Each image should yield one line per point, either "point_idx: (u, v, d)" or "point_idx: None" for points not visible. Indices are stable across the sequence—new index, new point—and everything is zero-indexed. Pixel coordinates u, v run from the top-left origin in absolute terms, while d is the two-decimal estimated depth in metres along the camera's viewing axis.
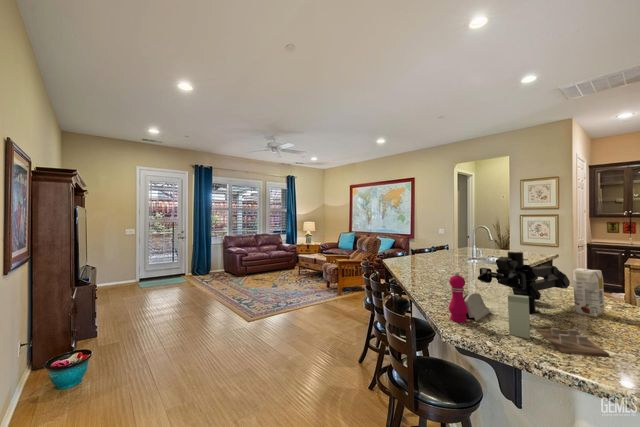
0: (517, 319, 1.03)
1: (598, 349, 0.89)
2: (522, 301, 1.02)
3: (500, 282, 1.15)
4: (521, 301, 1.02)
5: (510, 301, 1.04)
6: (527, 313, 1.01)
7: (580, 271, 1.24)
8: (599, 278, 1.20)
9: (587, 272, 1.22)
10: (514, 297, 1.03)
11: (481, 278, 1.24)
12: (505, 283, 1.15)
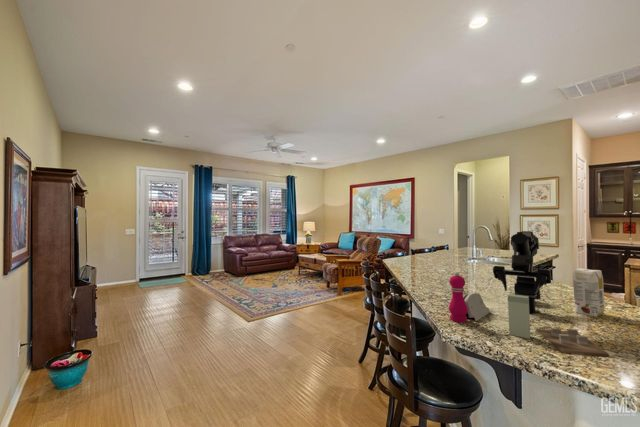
0: (517, 319, 1.03)
1: (598, 349, 0.89)
2: (522, 301, 1.02)
3: (535, 293, 1.07)
4: (521, 301, 1.02)
5: (510, 301, 1.04)
6: (527, 313, 1.01)
7: (580, 271, 1.24)
8: (599, 278, 1.20)
9: (587, 272, 1.22)
10: (514, 297, 1.03)
11: (506, 286, 1.14)
12: (538, 289, 1.08)
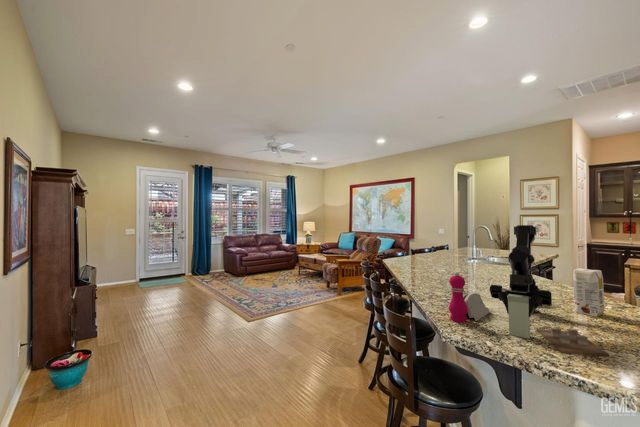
0: (517, 319, 1.03)
1: (598, 349, 0.89)
2: (522, 300, 1.02)
3: (530, 315, 1.01)
4: (521, 301, 1.02)
5: (510, 301, 1.04)
6: (527, 313, 1.01)
7: (580, 271, 1.24)
8: (599, 278, 1.20)
9: (587, 272, 1.22)
10: (514, 297, 1.03)
11: None
12: (533, 311, 1.02)
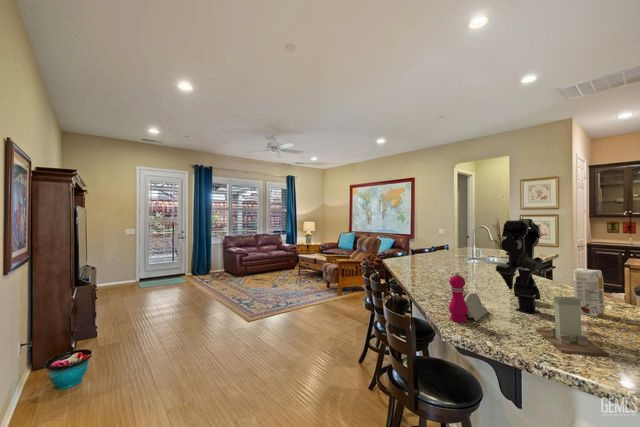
0: (568, 323, 0.95)
1: (598, 349, 0.89)
2: (574, 303, 0.95)
3: None
4: (573, 303, 0.95)
5: (561, 304, 0.96)
6: (580, 316, 0.95)
7: (580, 271, 1.24)
8: (599, 278, 1.20)
9: (587, 272, 1.22)
10: (565, 300, 0.96)
11: None
12: None
